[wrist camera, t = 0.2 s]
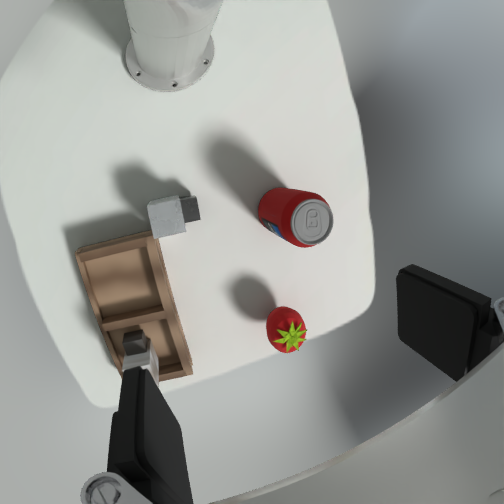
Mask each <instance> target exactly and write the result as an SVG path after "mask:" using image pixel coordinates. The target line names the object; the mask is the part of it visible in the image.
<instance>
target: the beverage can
mask: <svg viewBox="0 0 504 504" xmlns="http://www.w3.org/2000/svg"><path fill="white" fill-rule="evenodd" d="M258 215H259V219H260V221H261V223H262V224H263V226H264V227H265V228H267V229H268V230H270V231H271V232H273V233H274V234H276V235H278V236H279V237H281V238H283V239H284V240H286V241H288V242H290V243H292V244H293V245H295V246H298V247H304V248H305V247H312V246H314V245H317V244H319V243H321V242H323V241H324V240H325V239H326V238H327V237H328V236H329V234H330V232H331V230H332V227H333V214H332V211H331V209H330V207H329V205H328V203H327V202H326V201H325V199H324V198H322V197H321V196H320V195H318V194H316V193H312V192H307V191H301V190H295V189H288V188H275V189H272V190H270V191H268V192H267V193H266V194H265V195H264V196H263V197H262V199H261V201H260V203H259V207H258Z"/></svg>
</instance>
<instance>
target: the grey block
mask: <svg viewBox="0 0 504 504" xmlns="http://www.w3.org/2000/svg"><path fill="white" fill-rule="evenodd" d="M147 210H148V215H149V219H150V224H151V228H152V233H153V237H154V239H156V238H161V237H165V236H169V235H174V234H178V233H182V232H186V228H185V223H187V222H192V221H196V220H201V219H200V214H199V209H198V203H197V198H196V196H195V195H194V196H189V197H184V198H179V196H178V195H175V196H170V197H166V198H161V199H157V200H153V201H150V202H149V204H148V205H147Z"/></svg>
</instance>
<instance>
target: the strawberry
mask: <svg viewBox="0 0 504 504" xmlns="http://www.w3.org/2000/svg"><path fill="white" fill-rule="evenodd" d="M266 329H267V336H268V339H269V341H270V343H271V344H272V345H273V346H274V347H275V348H276V349H277V350H279V351H280V352H284V353H290V352H293V351H295V350H299V347H300V346H301V345H302V343H303V341H305V340H306V339H305V335H306V331H307V330H306V327H305V324H304V321H303V319H302V317H301V315H300V314H299V313H298V312H297V311H295V310H293V309H291V308H288V307H278V308H276V309H274V310H273V311H272V312H271V313H270V314H269V316H268V319H267V323H266Z"/></svg>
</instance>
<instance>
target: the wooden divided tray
mask: <svg viewBox="0 0 504 504" xmlns="http://www.w3.org/2000/svg"><path fill="white" fill-rule="evenodd" d="M75 256H76V259H77V263H78V266H79V269H80V273H81V276H82V279H83V282H84V285H85V288H86V291H87V294H88V297H89V300H90V303H91V305H92V308H93V311H94V314H95V316H96V319H97V322H98V324H99V327H100V329H101V332H102V334H103V337H104V339H105V342H106V344H107V347H108V349H109V351H110V354H111V356H112V358H113V360H114V363H115V365H116V367H117V369H118V371H119V374H120V376H121V378H123V372H124V370H126V369H130V368H133V367H137V366H141V367H142V369H146V368H147V369H148V370H149V372H150V373H151V375H152V377H153V379H154V381H155V383H156V385H157V386H158V387H159V382H160V381H165V380H169V379H174V378H179V377H183V376H187V375H192V374H193V371H192V365H193V364H192V358H191V355H190V352H189V349H188V346H187V342H186V339H185V336H184V333H183V329H182V326H181V323H180V319H179V316H178V312H177V309H176V305H175V302H174V298H173V294H172V291H171V287H170V283H169V279H168V276H167V272H166V268H165V264H164V260H163V256H162V252H161V248H160V243H159V239H158V238H156V239H154V237H153V233H152V230H149V231H145V232H141V233H137V234H133V235H129V236H125V237H121V238H117V239H113V240H109V241H105V242H101V243H97V244H93V245H89V246H85V247H81V248H79V249H78V250H76V251H75Z"/></svg>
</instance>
